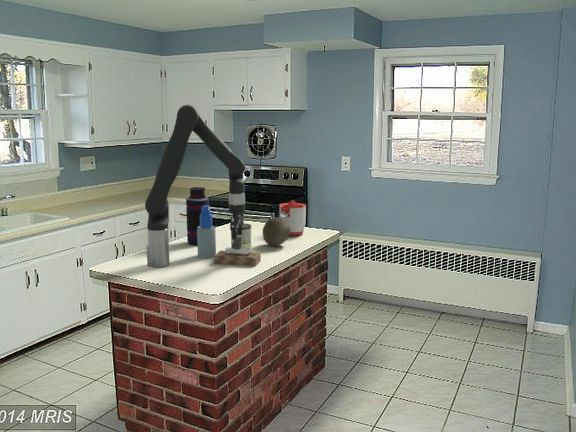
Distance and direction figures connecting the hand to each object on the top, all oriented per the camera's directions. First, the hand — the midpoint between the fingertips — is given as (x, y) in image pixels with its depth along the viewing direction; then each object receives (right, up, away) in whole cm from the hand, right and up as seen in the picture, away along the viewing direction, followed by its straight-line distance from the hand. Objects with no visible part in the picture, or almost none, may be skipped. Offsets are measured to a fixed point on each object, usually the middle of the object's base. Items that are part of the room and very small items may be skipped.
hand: (237, 236), depth 256 cm
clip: (0, -12, +2) cm, 12 cm away
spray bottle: (-16, -10, +13) cm, 23 cm away
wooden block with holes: (0, -12, +2) cm, 12 cm away
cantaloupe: (+18, -6, +34) cm, 39 cm away
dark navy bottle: (-24, -5, +40) cm, 47 cm away
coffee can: (0, -9, +19) cm, 21 cm away
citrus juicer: (+26, -1, +60) cm, 66 cm away
